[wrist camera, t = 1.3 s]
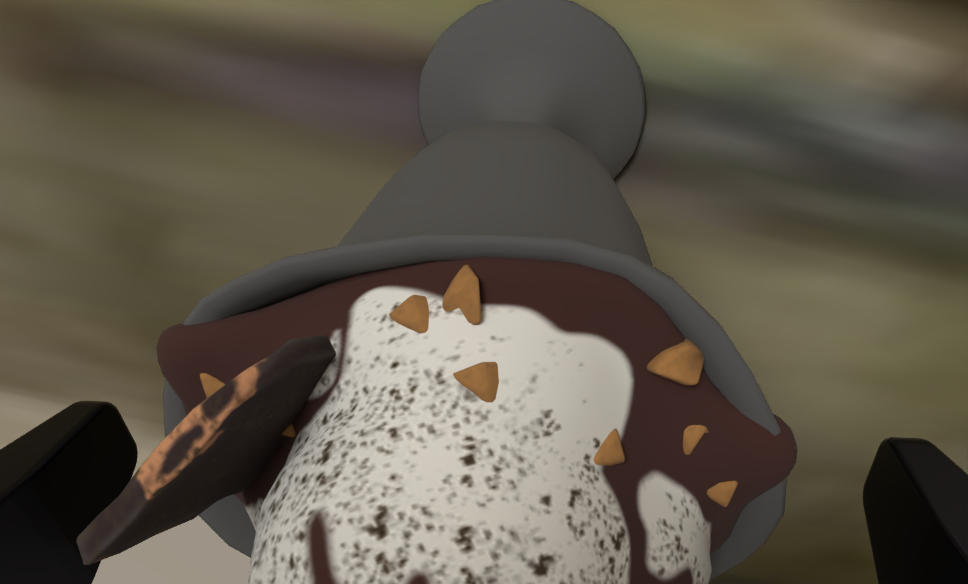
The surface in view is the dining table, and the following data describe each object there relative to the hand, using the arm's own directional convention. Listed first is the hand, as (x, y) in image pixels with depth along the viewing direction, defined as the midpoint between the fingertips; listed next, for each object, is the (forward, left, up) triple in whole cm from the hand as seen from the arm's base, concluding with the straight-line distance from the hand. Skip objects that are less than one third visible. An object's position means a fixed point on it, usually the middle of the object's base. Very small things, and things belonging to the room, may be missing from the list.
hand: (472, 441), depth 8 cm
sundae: (0, 0, -10) cm, 10 cm away
